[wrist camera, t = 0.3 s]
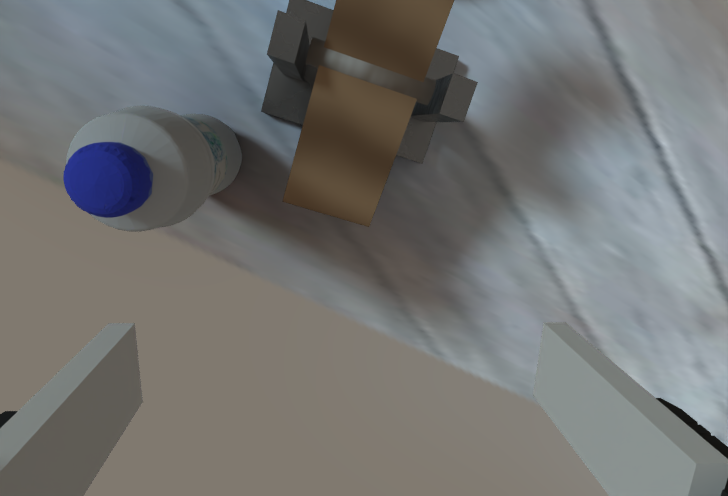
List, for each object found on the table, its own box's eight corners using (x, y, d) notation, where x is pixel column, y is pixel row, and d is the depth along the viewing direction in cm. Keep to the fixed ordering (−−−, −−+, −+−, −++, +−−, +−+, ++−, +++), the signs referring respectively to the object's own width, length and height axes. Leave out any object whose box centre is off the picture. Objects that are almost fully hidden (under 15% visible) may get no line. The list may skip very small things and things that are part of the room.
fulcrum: (419, 162, 41) (458, 178, 29) (262, 111, 39) (237, 106, 27) (455, 58, 39) (511, 30, 27) (291, -2, 37) (277, -60, 25)
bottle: (207, 209, 40) (103, 287, 21) (148, 149, 39) (-24, 175, 19) (264, 157, 40) (210, 189, 20) (206, 94, 38) (87, 64, 19)
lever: (376, 194, 40) (380, 240, 33) (284, 166, 38) (267, 207, 31) (490, -113, 30) (532, -145, 22) (370, -165, 28) (373, -217, 21)
